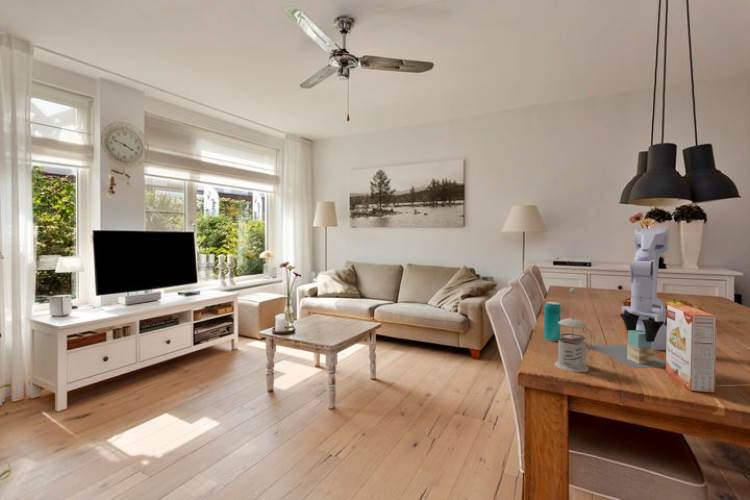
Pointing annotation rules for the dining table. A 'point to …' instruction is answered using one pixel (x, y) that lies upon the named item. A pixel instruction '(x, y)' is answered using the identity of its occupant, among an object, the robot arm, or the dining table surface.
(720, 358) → the dining table surface
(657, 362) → the slate mat
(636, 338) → the teal block
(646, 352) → the tower upper
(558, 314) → the beverage can
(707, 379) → the cracker box
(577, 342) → the french press
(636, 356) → the tower lower
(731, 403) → the dining table surface
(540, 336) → the dining table surface
